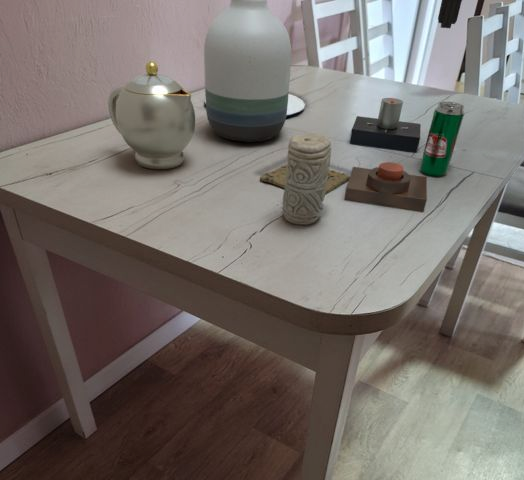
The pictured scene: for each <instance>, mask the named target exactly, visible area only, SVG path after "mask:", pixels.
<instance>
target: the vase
mask: <svg viewBox="0 0 524 480" xmlns="http://www.w3.org/2000/svg"><path fill="white" fill-rule="evenodd" d="M291 43H292V42H291V38H290V35H289V31H288V30H287V27H286V26H285V25H284V24H283V23H282V22H281V19H279V18H278V17H277V16H276V15H275V14H274V13H273V12H272V11H271V9H270V8H269V6H268V0H230V4H229V6H228V7H227V8H226V9H225V10H224V11H223V12H222V13H220V14H219V15H218V16H217V17H216V18H215V19H214V20H213V21H212V22H211V24H210V25H209V27H208V29H207V32H206V35H205V38H204V48H203V52H204V53H203V57H204V58H203V60H204V63H203V64H204V94H205V95H204V96H205V98H206V104H205V111H206V117H207V120H208V124H209V127H210V128H211V129H212V130H213V132H214V133H215V134H217V135H219V136H220V137H222V138H225V139H228V140H231V141H234V142H235V141H236V142H245V143H246V142H247V143H251V142H252V143H254V142H255V143H256V142H262V141H266V140H269V139H272V138H274V137H276V136H277V135H278V134H280V133H281V131H282V130H283V127H284V125H285V122H286V119H287V116H286V115H287V106H288V94H290V92H289V91H290V81H291V66H292V44H291Z"/></svg>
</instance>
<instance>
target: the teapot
mask: <svg viewBox="0 0 524 480" xmlns="http://www.w3.org/2000/svg"><path fill="white" fill-rule="evenodd" d="M144 69H145V73H142V74H139V75H137V76H135V77H133V78H132V79H131V80H129V81H128V82H127V83H126V84H125V85H124V86H118V87H115V88H113V90H112V91H110V94H109V96H108V100H107V106H108V113H109V117H110V119H111V122H112V124H113V126H114V128H115V129H116V131H117V132H118V133H119V134H120V135H121V137H122V139H123V140H124V142H125V143H126V145H128V147H130V149H132V151H134V152H135V155H134V159H135V162H136V163H137V164H138V165H139V166H141V167H143V168H146V169H148V170H149V169H150V170H157V171H158V170H170V169H174V168H177V167H178V166H180V165H182V163H183V162H184V160H185V155H184V152H183V151H184V150H185V149H186V148H187V146H188V145H189V144H190V143H191V140H192V139H193V136H194V133H195V128H196V111H195V108H194V104H193V101H192V93H190V92H188V91H187V90H185V89H184V87H183V86H182V85H180V83H178V82H177V81H176V80H175V79H173V78H172V77H170V76H167V75H164V74H161V73H158V72H159V67H158V64H157V63H156V62H155V61H147V63H146V64H145V68H144Z"/></svg>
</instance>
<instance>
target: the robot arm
mask: <svg viewBox="0 0 524 480" xmlns="http://www.w3.org/2000/svg"><path fill="white" fill-rule="evenodd" d="M462 1H463V0H441V2H440V8H439V11H438V15H437V21H438V24H440V28H441V29H451V28H452V25H455V24H456V23H457V21H458V17H459V13H460V9H461V5H462Z"/></svg>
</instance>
